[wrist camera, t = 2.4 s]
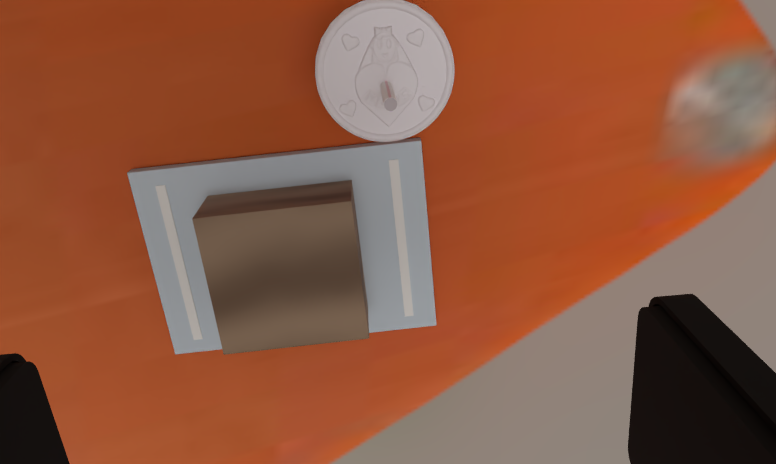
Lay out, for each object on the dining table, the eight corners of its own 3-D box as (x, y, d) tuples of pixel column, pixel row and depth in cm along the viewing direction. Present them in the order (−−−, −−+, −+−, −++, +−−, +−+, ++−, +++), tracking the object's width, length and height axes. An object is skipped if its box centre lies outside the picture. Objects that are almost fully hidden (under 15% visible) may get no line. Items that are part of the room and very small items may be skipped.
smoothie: (329, 108, 39) (315, 175, 26) (318, -5, 36) (297, 7, 23) (434, 100, 39) (473, 164, 26) (430, -12, 36) (471, -4, 24)
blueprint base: (131, 169, 40) (103, 194, 35) (419, 137, 40) (427, 158, 35) (178, 347, 45) (158, 389, 40) (435, 319, 45) (443, 357, 40)
